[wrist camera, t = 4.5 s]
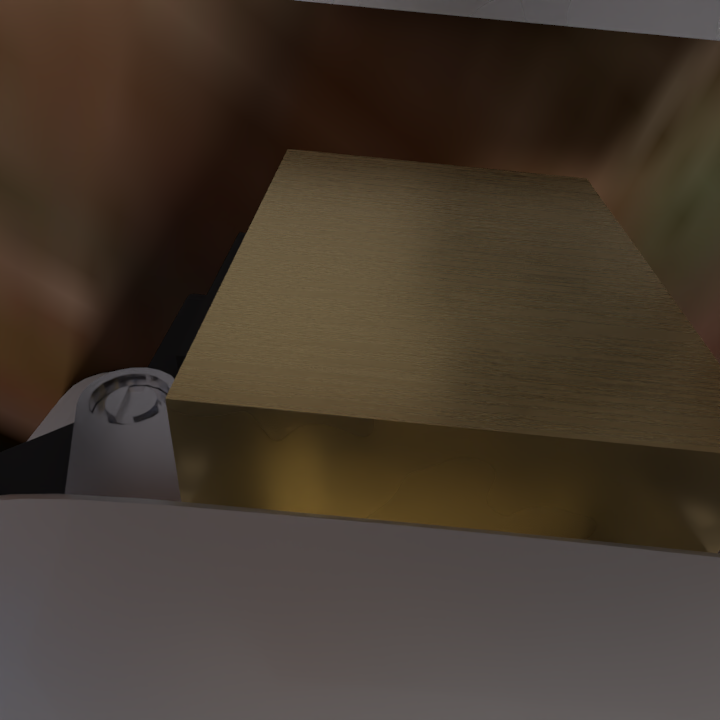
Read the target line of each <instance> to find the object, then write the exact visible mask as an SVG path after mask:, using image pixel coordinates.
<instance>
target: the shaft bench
mask: <svg viewBox="0 0 720 720" xmlns="http://www.w3.org/2000/svg"><path fill="white" fill-rule="evenodd" d="M296 1H307V2H318V3H328V4H339V5H349V6H360V7H370V8H381V9H391V10H402V11H412V12H423V13H433V14H444V15H454V16H465V17H475V18H486V19H496V20H507V21H517V22H528V23H538V24H549V25H559V26H570V27H580V28H591V29H601V30H612V31H622V32H633V33H643V34H654V35H664V36H675V37H685V38H696V39H706V40H717V41H720V0H296Z"/></svg>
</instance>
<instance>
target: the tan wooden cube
mask: <svg viewBox="0 0 720 720" xmlns="http://www.w3.org/2000/svg"><path fill="white" fill-rule="evenodd" d="M165 401H166V407H167V413H168V420H169V426H170V432H171V439H172V445H173V451H174V458H175V464H176V470H177V477H178V483H179V489H180V496H181V501H182V502H190V503H201V504H213V505H224V506H235V507H246V508H257V509H268V510H279V511H290V512H301V513H312V514H323V515H334V516H344V517H355V518H366V519H377V520H388V521H398V522H409V523H419V524H430V525H440V526H450V527H461V528H471V529H482V530H492V531H502V532H512V533H522V534H533V535H543V536H553V537H563V538H573V539H583V540H593V541H603V542H613V543H623V544H632V545H642V546H652V547H662V548H671V549H681V550H691V551H701V552H710V553H718V552H719V550H720V364H719V363H718V361H717V360H716V359H715V357H714V356H713V354H712V353H711V352H710V350H709V349H708V347H707V346H706V345H705V343H704V342H703V340H702V339H701V338H700V336H699V335H698V333H697V332H696V331H695V329H694V328H693V326H692V325H691V324H690V322H689V321H688V319H687V318H686V317H685V315H684V314H683V312H682V311H681V310H680V308H679V307H678V305H677V304H676V303H675V301H674V300H673V298H672V297H671V296H670V294H669V293H668V291H667V290H666V289H665V287H664V286H663V285H662V283H661V282H660V280H659V279H658V278H657V276H656V275H655V273H654V272H653V271H652V269H651V268H650V266H649V265H648V264H647V262H646V261H645V259H644V258H643V257H642V255H641V254H640V252H639V251H638V250H637V248H636V247H635V245H634V244H633V243H632V241H631V240H630V238H629V237H628V236H627V234H626V233H625V231H624V230H623V229H622V227H621V226H620V224H619V223H618V222H617V220H616V219H615V217H614V216H613V215H612V213H611V212H610V210H609V209H608V208H607V206H606V205H605V203H604V202H603V201H602V199H601V198H600V196H599V195H598V194H597V192H596V191H595V189H594V188H593V187H592V185H591V184H590V182H589V181H588V180H587V179H586V178H576V177H566V176H556V175H546V174H536V173H526V172H516V171H505V170H495V169H485V168H475V167H465V166H455V165H445V164H435V163H425V162H415V161H405V160H395V159H385V158H375V157H365V156H355V155H345V154H335V153H325V152H315V151H305V150H295V149H287V151H286V153H285V155H284V157H283V160H282V162H281V164H280V166H279V168H278V170H277V172H276V174H275V176H274V178H273V180H272V182H271V184H270V186H269V188H268V190H267V192H266V194H265V196H264V198H263V200H262V202H261V204H260V206H259V208H258V210H257V213H256V215H255V217H254V219H253V221H252V223H251V225H250V227H249V229H248V231H247V233H246V235H245V237H244V239H243V241H242V243H241V245H240V247H239V249H238V251H237V253H236V255H235V257H234V259H233V261H232V263H231V266H230V268H229V270H228V272H227V274H226V276H225V278H224V280H223V282H222V284H221V286H220V288H219V290H218V292H217V294H216V296H215V298H214V300H213V302H212V304H211V306H210V308H209V310H208V312H207V314H206V316H205V319H204V321H203V323H202V325H201V327H200V329H199V331H198V333H197V335H196V337H195V339H194V341H193V343H192V345H191V347H190V349H189V351H188V353H187V355H186V357H185V359H184V361H183V363H182V365H181V367H180V370H179V372H178V374H177V376H176V378H175V380H174V382H173V384H172V386H171V388H170V390H169V392H168V394H167V396H166V398H165Z"/></svg>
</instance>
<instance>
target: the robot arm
mask: <svg viewBox="0 0 720 720" xmlns="http://www.w3.org/2000/svg"><path fill="white" fill-rule="evenodd" d="M245 235H246V233H242V232H240V233H239V234H238V236H237V238H236V239H235V241H234V243H233V245H232V247H231V249H230V251H229V253H228V255H227V257H226V259H225V261H224V263H223V265H222V267H221V269H220V271H219V273H218V274H217V276H216V278H215V280H214V282H213V284H212V286H211V288H210V290H209V292H208V294H207V295H200V294H190V295H189V296H188V297H187V299H186V300H185V302H184V304H183V306H182V307H181V309H180V311H179V313H178V315H177V316H176V318H175V320H174V322H173V323H172V325H171V327H170V329H169V330H168V332H167V334H166V336H165V338H164V339H163V341H162V343H161V345H160V346H159V348H158V350H157V352H156V354H155V355H154V357H153V359H152V361H151V362H150V364H149V366H148V368H127V369H122V370H117V371H114V372H111V373H109V374H106V375H103V376H101V377H99V378H98V379H96V380H95V381H93V382H92V383H90V384H89V385H88V386H87V387H86V388H85V389H84V390H83V392H82V393H81V394H80V397H79V399H78V402H77V405H76V413H75V420H74V423H71V424H69V425H66V426H64V427H62V428H59V429H57V430H54V431H52V432H49V433H47V434H44V435H42V436H39V437H37V438H35V439H32V440H30V441H27V442H25V443H22V444H20V445H17V446H15V447H12V448H10V449H7V450H5V451H3V452H0V720H720V550H719V552H718V553H710V552H701V551H691V550H681V549H671V548H662V547H652V546H642V545H632V544H623V543H613V542H603V541H593V540H583V539H573V538H563V537H553V536H543V535H533V534H522V533H512V532H502V531H492V530H482V529H471V528H461V527H450V526H440V525H430V524H419V523H409V522H398V521H388V520H377V519H366V518H355V517H344V516H334V515H323V514H312V513H301V512H290V511H279V510H268V509H257V508H246V507H235V506H224V505H213V504H201V503H190V502H182V501H181V496H180V489H179V483H178V477H177V470H176V464H175V458H174V451H173V445H172V439H171V432H170V426H169V420H168V413H167V407H166V401H165V398H166V396H167V394H168V392H169V390H170V388H171V386H172V384H173V382H174V380H175V378H176V376H177V374H178V372H179V370H180V367H181V365H182V363H183V361H184V359H185V357H186V355H187V353H188V351H189V349H190V347H191V345H192V343H193V341H194V339H195V337H196V335H197V333H198V331H199V329H200V327H201V325H202V323H203V321H204V319H205V316H206V314H207V312H208V310H209V308H210V306H211V304H212V302H213V300H214V298H215V296H216V294H217V292H218V290H219V288H220V286H221V284H222V282H223V280H224V278H225V276H226V274H227V272H228V270H229V268H230V266H231V263H232V261H233V259H234V257H235V255H236V253H237V251H238V249H239V247H240V245H241V243H242V241H243V239H244V237H245Z"/></svg>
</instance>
